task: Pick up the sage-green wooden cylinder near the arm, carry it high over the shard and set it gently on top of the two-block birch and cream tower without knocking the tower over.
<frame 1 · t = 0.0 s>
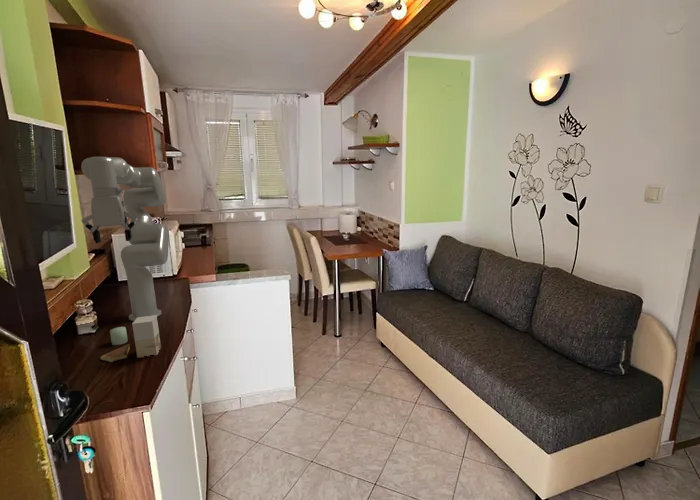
hand: (113, 241, 136), 37 cm above the cabinet, tool pointing down, fingers open, 9 cm apart
tower base: (149, 352, 130), on the cabinet, touching tower top
shard: (115, 357, 129), on the cabinet
green cylinder: (119, 342, 139), on the cabinet
tower top: (147, 336, 129), point 6 cm above the cabinet, touching tower base
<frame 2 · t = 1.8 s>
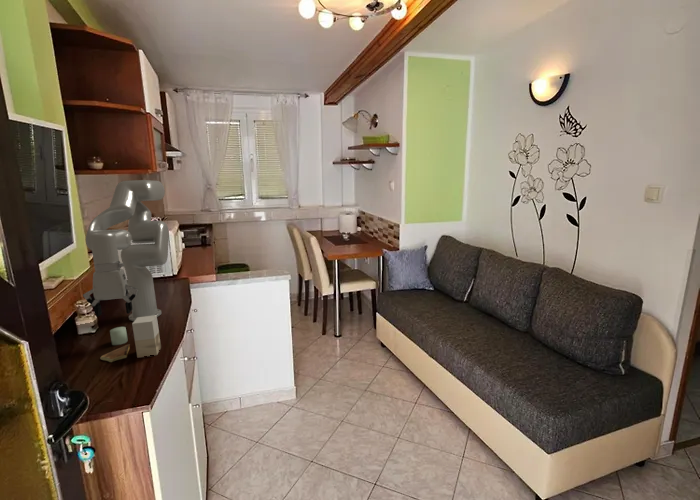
hand: (114, 314, 136), 11 cm above the cabinet, tool pointing down, fingers open, 9 cm apart
nothing on the cabinet moved.
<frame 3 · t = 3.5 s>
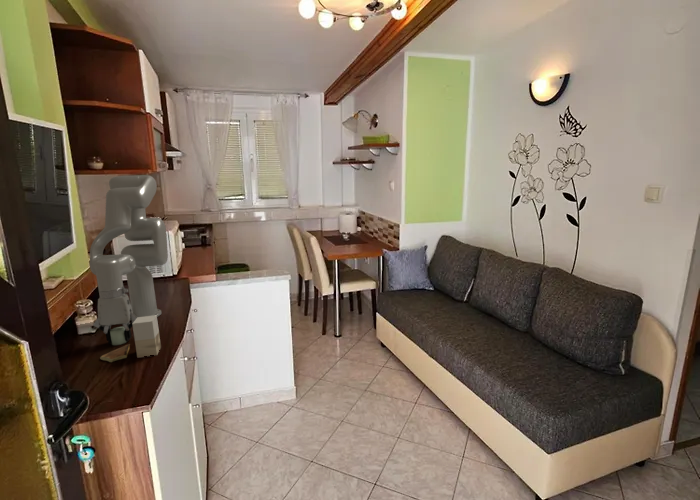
hand: (119, 340, 139), 1 cm above the cabinet, tool pointing down, fingers closed on green cylinder, 4 cm apart
green cylinder: (119, 342, 139), on the cabinet, touching gripper
everything else where it was.
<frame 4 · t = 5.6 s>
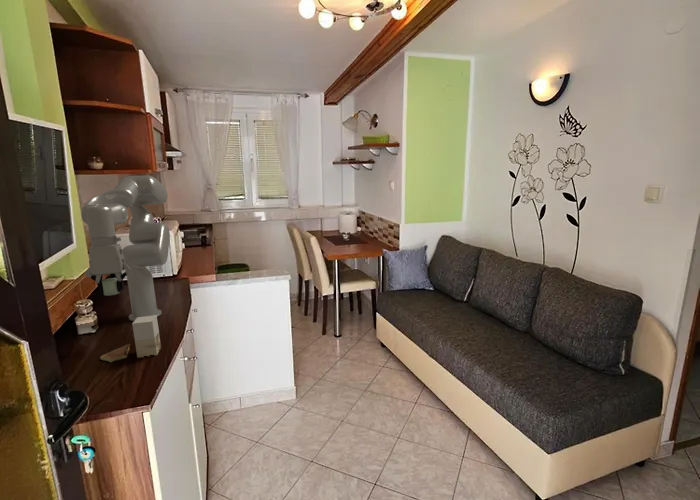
hand: (111, 291, 136), 19 cm above the cabinet, tool pointing down, fingers closed on green cylinder, 4 cm apart
green cylinder: (112, 293, 136), point 19 cm above the cabinet, touching gripper
everything else where it was.
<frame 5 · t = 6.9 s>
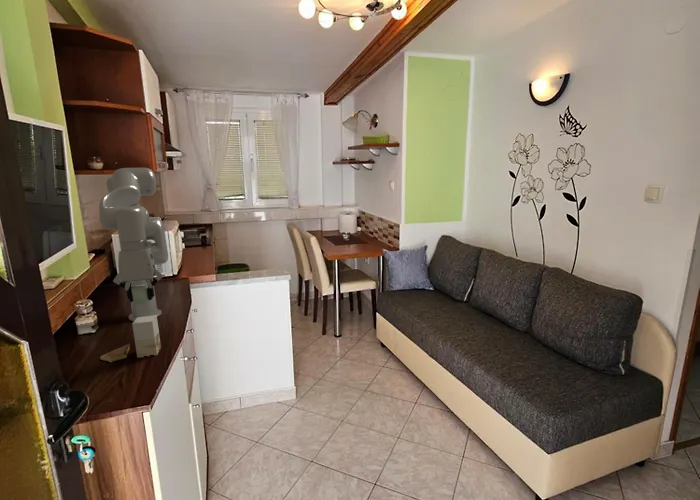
hand: (141, 299, 126), 19 cm above the cabinet, tool pointing down, fingers closed on green cylinder, 4 cm apart
green cylinder: (141, 301, 126), point 18 cm above the cabinet, touching gripper
everything else where it was.
when the fingers open (14 cm above the cabinet, at t = 8.0 s): green cylinder drops 1 cm, resting on tower top.
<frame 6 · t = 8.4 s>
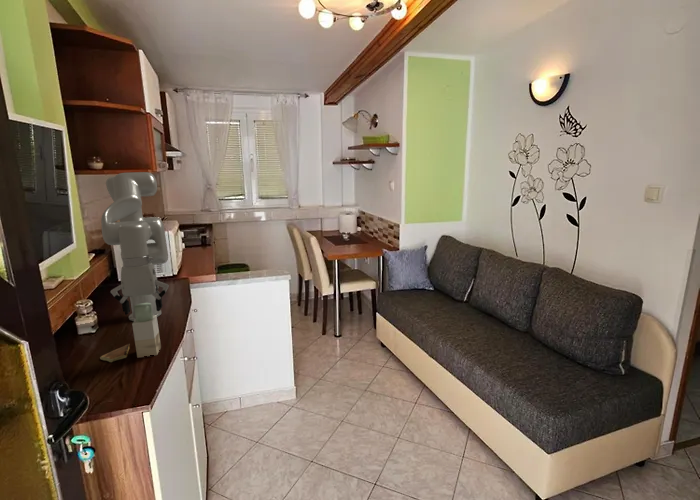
hand: (143, 311, 127), 15 cm above the cabinet, tool pointing down, fingers open, 9 cm apart
green cylinder: (144, 319, 128), point 12 cm above the cabinet, touching tower top
tower top: (147, 336, 129), point 6 cm above the cabinet, touching green cylinder, tower base
everything else where it was.
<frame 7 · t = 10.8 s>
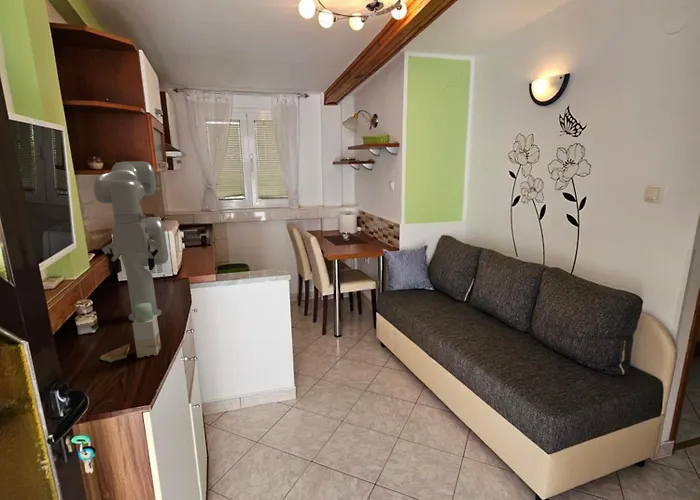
hand: (135, 270, 126), 28 cm above the cabinet, tool pointing down, fingers open, 9 cm apart
nothing on the cabinet moved.
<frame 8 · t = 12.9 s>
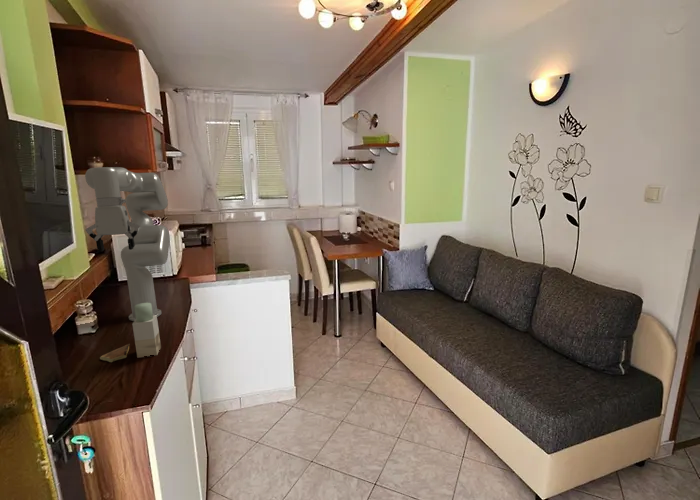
hand: (116, 250, 138), 33 cm above the cabinet, tool pointing down, fingers open, 9 cm apart
nothing on the cabinet moved.
at the end: green cylinder 0.0 cm off-centre on the tower top, point 6.0 cm above the tower top's base; tower top 0.0 cm from the tower base (horizontally); the gripper is holding nothing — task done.
